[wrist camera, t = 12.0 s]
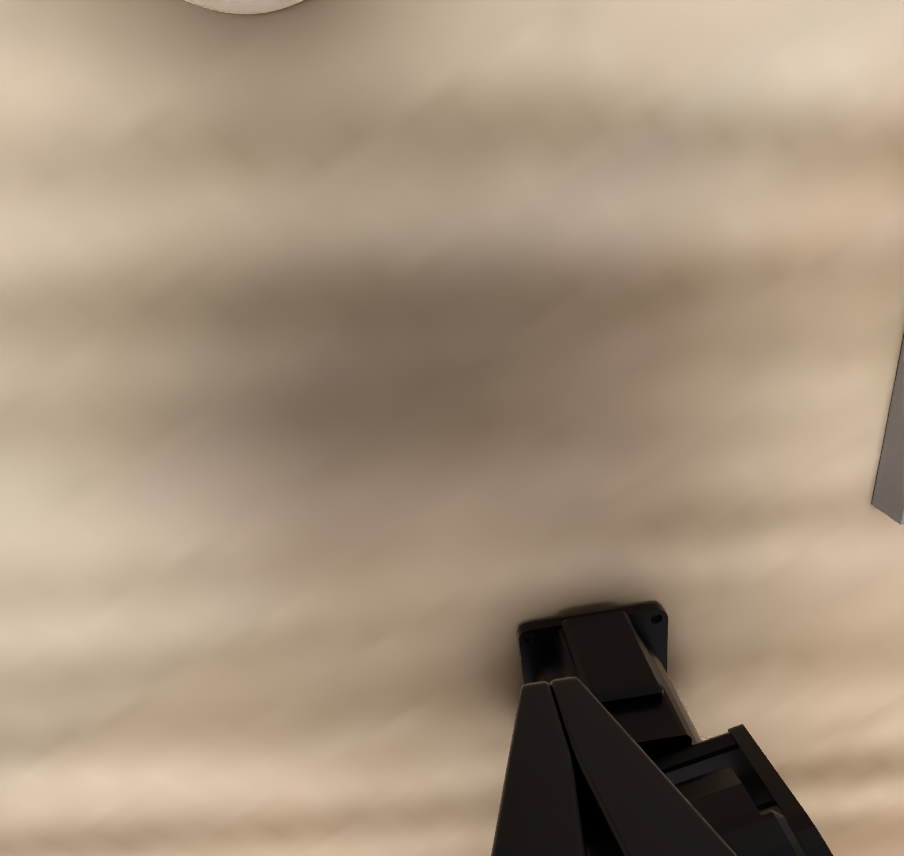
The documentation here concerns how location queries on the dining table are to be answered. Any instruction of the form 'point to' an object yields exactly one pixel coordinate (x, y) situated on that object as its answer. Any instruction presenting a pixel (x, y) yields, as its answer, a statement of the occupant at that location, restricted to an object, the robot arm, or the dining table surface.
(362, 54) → the dining table surface
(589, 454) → the dining table surface
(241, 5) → the candle holder
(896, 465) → the button board
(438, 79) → the dining table surface
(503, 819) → the robot arm
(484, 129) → the dining table surface
